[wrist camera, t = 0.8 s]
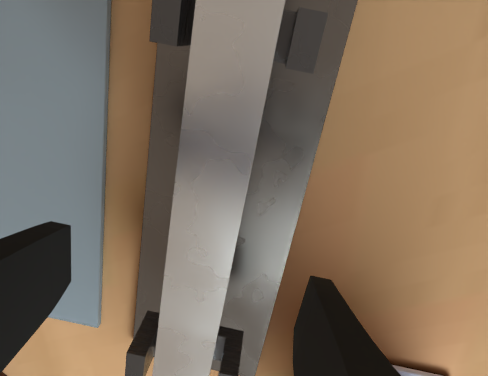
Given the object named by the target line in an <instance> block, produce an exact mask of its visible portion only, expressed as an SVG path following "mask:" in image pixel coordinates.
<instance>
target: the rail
mask: <svg viewBox="0 0 488 376" xmlns="http://www.w3.org/2000/svg"><path fill="white" fill-rule="evenodd" d="M285 2H286V0H196V3H195V12H194V21H193V29H192V38H191V46H190V55H189V64H188V72H187V81H186V90H185V98H184V107H183V116H182V124H181V133H180V142H179V150H178V159H177V168H176V176H175V185H174V194H173V202H172V211H171V220H170V228H169V237H168V245H167V254H166V263H165V271H164V280H163V289H162V297H161V306H160V315H159V323H158V332H157V341H156V349H155V358H154V367H153V375H152V376H210V371H211V366H212V361H213V356H214V351H215V346H216V341H217V336H218V332H219V327H220V322H221V317H222V312H223V307H224V302H225V297H226V292H227V287H228V282H229V278H230V273H231V268H232V263H233V258H234V253H235V248H236V243H237V238H238V233H239V228H240V223H241V219H242V214H243V209H244V204H245V199H246V194H247V189H248V184H249V179H250V174H251V169H252V165H253V160H254V155H255V150H256V145H257V140H258V135H259V130H260V125H261V120H262V115H263V111H264V106H265V101H266V96H267V91H268V86H269V81H270V76H271V71H272V66H273V61H274V56H275V52H276V47H277V42H278V37H279V32H280V27H281V22H282V17H283V12H284V7H285Z"/></svg>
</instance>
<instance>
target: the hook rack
mask: <svg viewBox="0 0 488 376" xmlns="http://www.w3.org/2000/svg"><path fill="white" fill-rule="evenodd" d="M357 1H358V0H286V2H285V7H284V12H283V17H282V22H281V27H280V32H279V37H278V42H277V47H276V52H275V56H274V61H273V66H272V71H271V76H270V81H269V86H268V91H267V96H266V101H265V106H264V111H263V115H262V120H261V125H260V130H259V135H258V140H257V145H256V150H255V155H254V160H253V165H252V169H251V174H250V179H249V184H248V189H247V194H246V199H245V204H244V209H243V214H242V219H241V223H240V228H239V233H238V238H237V243H236V248H235V253H234V258H233V263H232V268H231V273H230V278H229V282H228V287H227V292H226V297H225V302H224V307H223V312H222V317H221V322H220V327H219V332H218V336H217V341H216V346H215V351H214V356H213V361H212V366H211V369H212V370H216V371H219V374H218V376H238V375H240V376H255V374H256V370H257V366H258V363H259V359H260V355H261V352H262V348H263V344H264V341H265V337H266V333H267V330H268V326H269V322H270V319H271V315H272V311H273V308H274V304H275V301H276V297H277V293H278V290H279V286H280V282H281V279H282V275H283V271H284V268H285V264H286V260H287V257H288V253H289V249H290V246H291V242H292V238H293V235H294V231H295V227H296V224H297V220H298V216H299V213H300V209H301V206H302V202H303V198H304V195H305V191H306V187H307V184H308V180H309V176H310V173H311V169H312V165H313V162H314V158H315V154H316V151H317V147H318V143H319V140H320V136H321V132H322V129H323V125H324V121H325V118H326V114H327V110H328V107H329V103H330V100H331V96H332V92H333V89H334V85H335V81H336V78H337V74H338V70H339V67H340V63H341V59H342V56H343V52H344V48H345V45H346V41H347V37H348V34H349V30H350V26H351V23H352V19H353V15H354V12H355V8H356V5H357ZM195 3H196V0H152V14H151V28H150V41H151V42H156V43H157V55H156V68H155V80H154V92H153V104H152V117H151V129H150V141H149V154H148V166H147V178H146V190H145V203H144V215H143V227H142V239H141V252H140V264H139V276H138V288H137V301H136V313H135V325H134V337H133V341H132V343H131V345H130V347H129V349H128V351H127V355H126V369H125V376H146V373H147V371H148V368H149V366H150V363H151V361H152V358H153V357H155V349H156V341H157V332H158V323H159V315H160V306H161V297H162V289H163V280H164V271H165V263H166V254H167V245H168V237H169V228H170V220H171V211H172V202H173V194H174V185H175V176H176V168H177V159H178V150H179V142H180V133H181V124H182V116H183V107H184V98H185V90H186V81H187V72H188V64H189V55H190V46H191V38H192V29H193V21H194V12H195Z"/></svg>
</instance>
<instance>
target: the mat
mask: <svg viewBox="0 0 488 376" xmlns="http://www.w3.org/2000/svg"><path fill="white" fill-rule="evenodd" d="M110 24H111V0H0V239H1V238H4V237H6V236H9V235H12V234H14V233H17V232H20V231H23V230H25V229H28V228H31V227H34V226H37V225H40V224H43V223H46V222H50V221H53V222H57V223H62V224H67V225H71V283H70V284H69V286H68V287H67V289H66V291H65V292H64V294H63V296H62V297H61V299H60V300H59V302H58V303H57V305H56V306H55V308H54V309H53V311H52V312H51V313H50V314H49V316H48V317H50V318H54V319H59V320H64V321H68V322H73V323H77V324H82V325H87V326H91V327H96V328H98V327H99V325H100V324H101V297H102V266H103V236H104V206H105V175H106V145H107V115H108V84H109V54H110Z"/></svg>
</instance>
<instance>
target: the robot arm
mask: <svg viewBox="0 0 488 376" xmlns="http://www.w3.org/2000/svg"><path fill="white" fill-rule="evenodd" d="M70 283H71V225H67V224H62V223H57V222H53V221H50V222H46V223H43V224H40V225H37V226H34V227H31V228H28V229H25V230H23V231H20V232H17V233H14V234H12V235H9V236H6V237H4V238H1V239H0V373H1V372H2V371H3V370H4V368H5V367H6V366H7V365H8V364H9V362H10V361H11V360H12V359H13V358H14V356H15V355H16V354H17V353H18V352H19V351H20V349H21V348H22V347H23V346H24V345H25V343H26V342H27V341H28V340H29V339H30V337H31V336H32V335H33V334H34V333H35V332H36V330H37V329H38V328H39V327H40V325H41V324H42V323H43V322H44V321H45V319H46V318H47V317H48V316H49V314H50V313H51V312H52V311H53V309H54V308H55V306H56V305H57V303H58V302H59V300H60V299H61V297H62V296H63V294H64V292H65V291H66V289H67V287H68V286H69V284H70ZM293 370H294V376H442V375H437V374H433V373H428V372H423V371H419V370H414V369H409V368H405V367H400V366H395V365H392V364H391V363H390V362H389V361H388V359H387V358H386V357H385V356H384V354H383V353H382V352H381V351H380V349H379V348H378V347H377V346H376V344H375V343H374V342H373V340H372V339H371V338H370V336H369V335H368V334H367V332H366V331H365V329H364V328H363V327H362V325H361V324H360V322H359V321H358V319H357V318H356V317H355V315H354V314H353V312H352V311H351V309H350V308H349V306H348V305H347V303H346V302H345V300H344V299H343V297H342V296H341V294H340V293H339V291H338V290H337V288H336V286H335V285H334V284H333V282H332V281H331V280H329V279H324V278H319V277H315V276H310V279H309V282H308V285H307V288H306V291H305V295H304V298H303V301H302V304H301V308H300V311H299V314H298V317H297V320H296V324H295V327H294V340H293Z"/></svg>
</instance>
